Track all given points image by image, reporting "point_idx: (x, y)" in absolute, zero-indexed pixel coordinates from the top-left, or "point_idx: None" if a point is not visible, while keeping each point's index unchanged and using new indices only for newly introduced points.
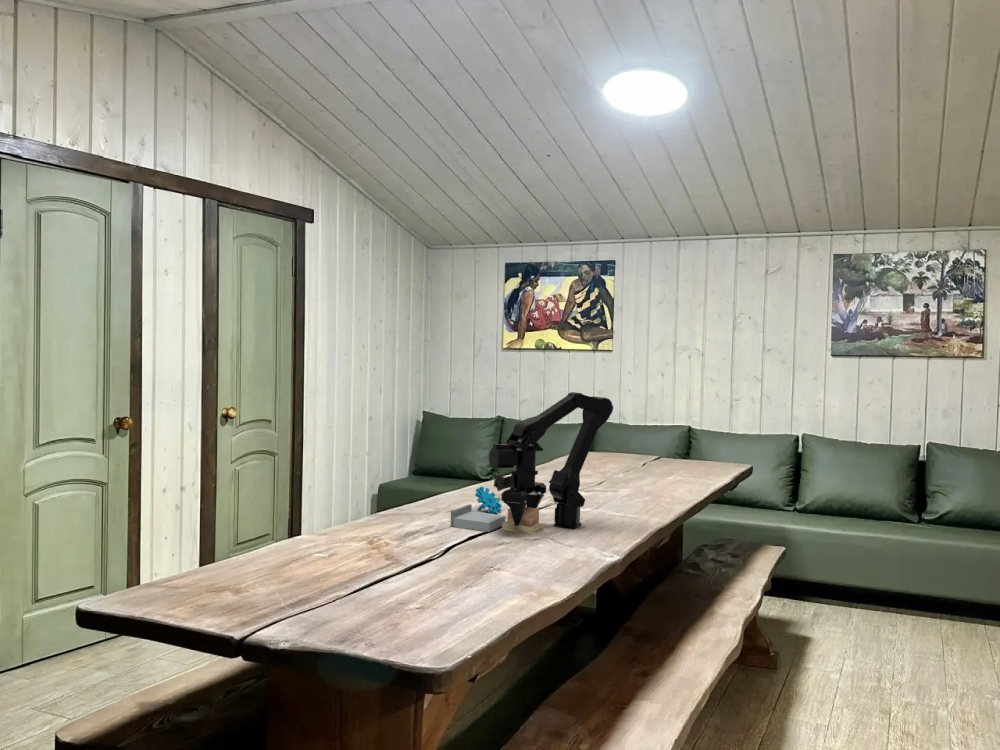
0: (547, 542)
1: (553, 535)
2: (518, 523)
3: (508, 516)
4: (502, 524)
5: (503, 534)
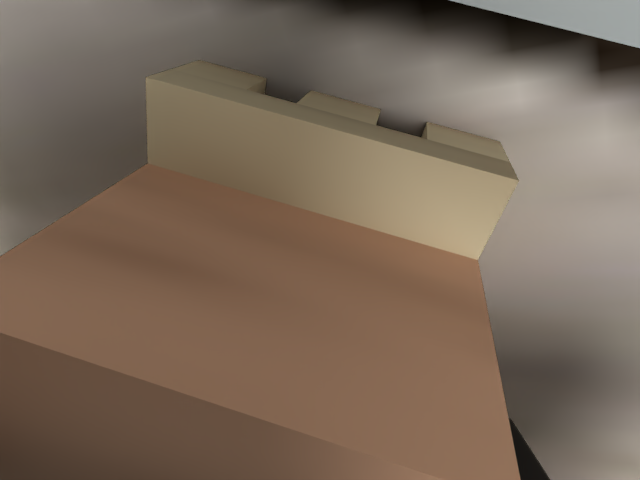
0: None
1: None
2: None
3: (65, 233)
4: (157, 75)
5: (8, 121)
